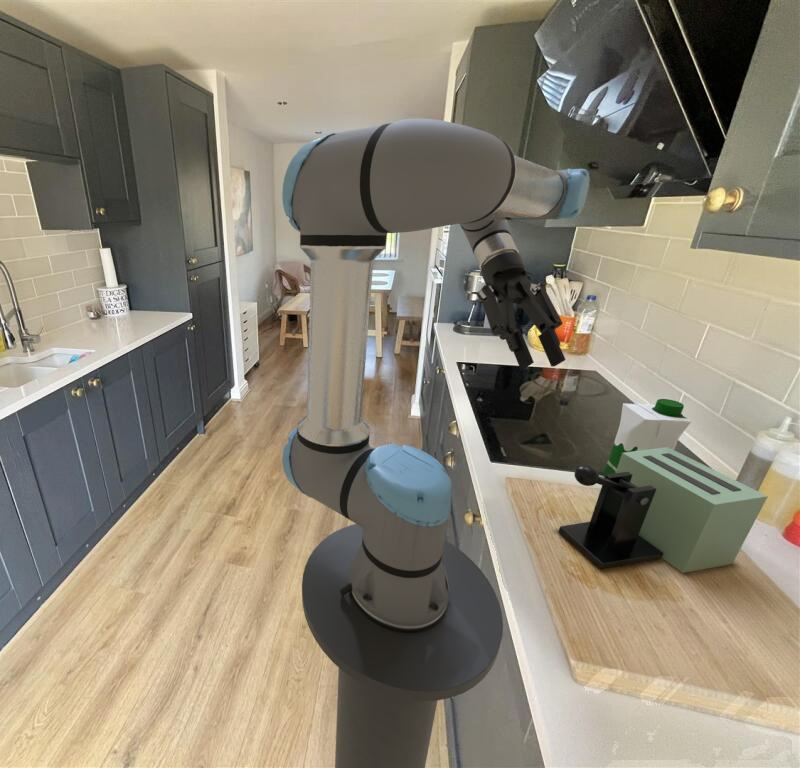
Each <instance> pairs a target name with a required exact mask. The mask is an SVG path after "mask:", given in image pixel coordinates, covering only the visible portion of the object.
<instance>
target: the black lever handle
mask: <svg viewBox="0 0 800 768" xmlns="http://www.w3.org/2000/svg"><path fill="white" fill-rule="evenodd" d="M574 478H575V481H577V482H578V483H579V484H580V485H582V486H585V487H592V486H595V485H596V484H597V485H600V486H602V485H603V486H606V487H608V488H611V489H612V491H614V492H615V493H617V494H618V495H620V496H621V497H623V498H625V495H626V492H627V490H628V489H629V488H636V487H637V486H635V485H634V484H632V483H630V482H627V481H624V480H622V479H620V480H619V481H618V483H616V482H613V481H611V480H608V479H605V477H602V476H600V474H599V471H598V470H596V469H595V468H594V467H593V466H590V465H581V466H578V467H577V468H576V469H575V470H574Z"/></svg>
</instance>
